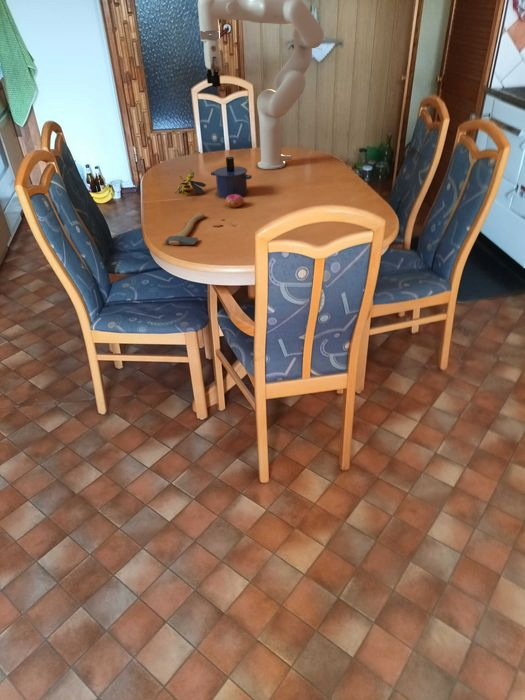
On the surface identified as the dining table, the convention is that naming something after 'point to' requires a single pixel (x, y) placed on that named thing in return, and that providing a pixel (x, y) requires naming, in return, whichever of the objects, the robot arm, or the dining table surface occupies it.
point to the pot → (231, 185)
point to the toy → (187, 188)
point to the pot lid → (230, 169)
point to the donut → (234, 200)
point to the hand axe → (185, 233)
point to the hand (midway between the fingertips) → (213, 84)
